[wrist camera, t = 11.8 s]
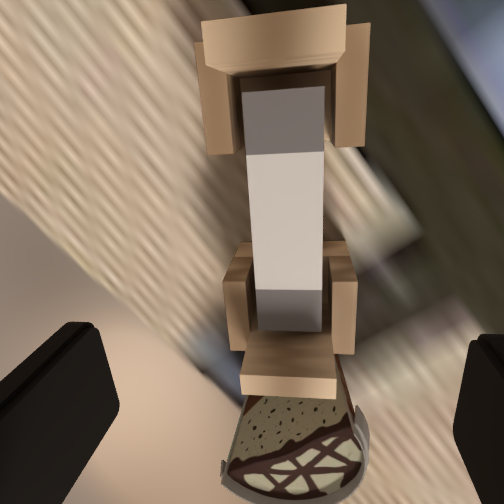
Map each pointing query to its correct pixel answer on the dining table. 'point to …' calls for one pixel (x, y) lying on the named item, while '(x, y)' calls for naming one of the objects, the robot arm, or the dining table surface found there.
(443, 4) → the dining table surface
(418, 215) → the dining table surface
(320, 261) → the bed rail
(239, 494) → the food container
